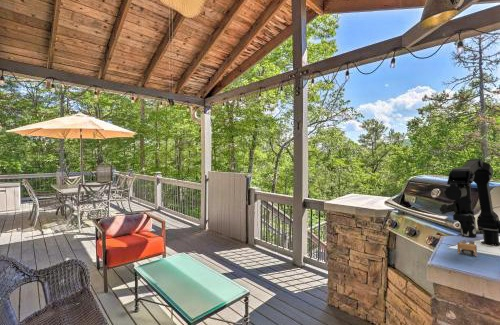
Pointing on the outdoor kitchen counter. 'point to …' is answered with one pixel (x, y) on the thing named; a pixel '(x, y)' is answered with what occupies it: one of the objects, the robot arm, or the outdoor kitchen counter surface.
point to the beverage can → (470, 230)
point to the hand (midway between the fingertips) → (465, 234)
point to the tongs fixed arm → (468, 252)
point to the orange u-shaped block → (467, 247)
